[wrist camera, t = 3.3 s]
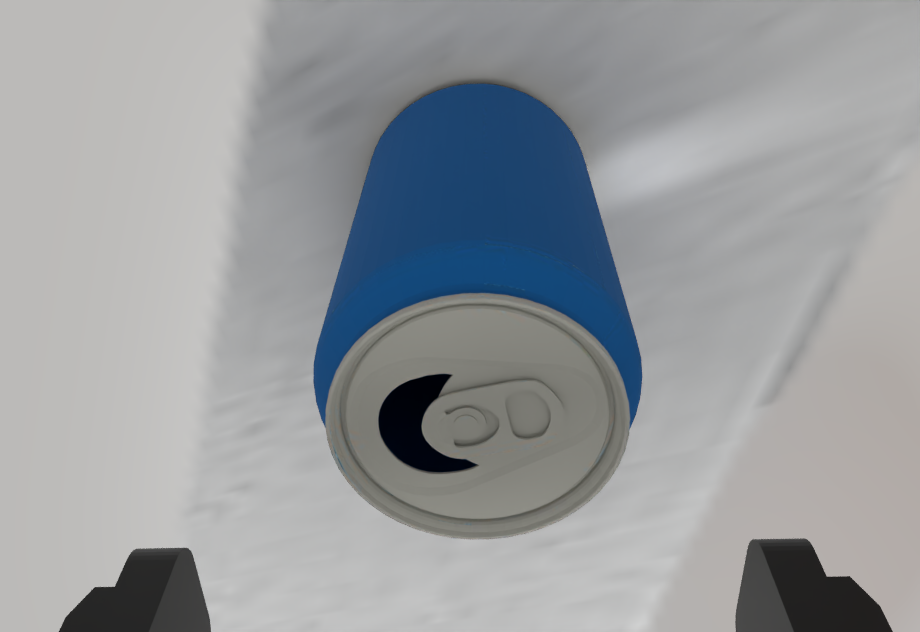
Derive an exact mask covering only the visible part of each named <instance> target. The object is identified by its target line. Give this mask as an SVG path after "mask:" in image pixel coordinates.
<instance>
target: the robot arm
mask: <svg viewBox="0 0 920 632" xmlns="http://www.w3.org/2000/svg"><path fill="white" fill-rule="evenodd" d="M59 632H211V627H210V619H209V614H208V611H207V607H206V603H205V599H204V595H203V592H202V588H201V584H200V580H199V577H198V573H197V569H196V565H195V562H194V558H193V555H192V553H191V551H190V550H189V549H188V548H161V549H160V548H159V549H158V548H157V549H156V548H155V549H135V550H134V551H133V552H131V554H130V555H129V557H128V559H127V561H126V563H125V565H124V568H123V570H122V572H121V574H120V577H119V579H118V581H117V583H116V586H115V587H95V588H94V589H93V590H92V591H91V592H90V593H89V594H88V595H87V596H86V597H85V598H84V599H83V600H82V601H81V602H80V603H79V604H78V605H77V606H76V607H75V608H74V609H73V610H72V611H71V612H70V613H69V615H68V616H67V617H66V618H65V620H64V622H63V624H62V627H61V628H60V631H59ZM736 632H893V631H892V630H891V627H890V625H889V624H888V622H887V619H886V617H885V615H884V613H883V611H882V609H881V607H880V606H879V605H878V604H877V603H876V602H875V601H874V600H873V599H872V598H871V597H870V596H869V595H868V594H867V593H866V592H865V591H864V590H863V589H862V588H861V587H860V586H859V585H858V584H857V583H856V582H855V581H854V580H853V579H852V578H851V577H850V576H847V577H827V576H826V574H825V572H824V570H823V568H822V565H821V563H820V561H819V559H818V557H817V554H816V553H815V550H814V548H813V546H812V545H811V543H810V542H809V541H808V540H807V539H761V540H760V539H759V540H757V539H755V540H752V541H751V542H750V543H749V546H748V550H747V555H746V561H745V566H744V571H743V576H742V582H741V587H740V593H739V599H738V604H737V609H736Z"/></svg>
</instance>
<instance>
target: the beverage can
mask: <svg viewBox="0 0 920 632" xmlns="http://www.w3.org/2000/svg"><path fill="white" fill-rule="evenodd" d="M641 384H642V366H641V357H640V352H639V348H638V344H637V340H636V336H635V333H634V329H633V326H632V323H631V319H630V316H629V312H628V309H627V305H626V302H625V298H624V295H623V292H622V288H621V285H620V281H619V278H618V274H617V271H616V267H615V264H614V261H613V257H612V254H611V250H610V247H609V243H608V240H607V236H606V233H605V230H604V226H603V223H602V219H601V216H600V212H599V209H598V205H597V202H596V199H595V195H594V192H593V188H592V185H591V181H590V178H589V174H588V171H587V168H586V164H585V161H584V157H583V155H582V152H581V150H580V147H579V145H578V143H577V141H576V139H575V137H574V136H573V134H572V132H571V131H570V129H569V128H568V127H567V126H566V124H565V123H564V122H563V120H562V119H561V118H560V117H558V116H557V115H556V114H555V113H554V112H553V111H552V110H551V109H550V108H548V107H547V106H546V105H544V104H543V103H542V102H540V101H538V100H537V99H535V98H533V97H531V96H529V95H527V94H525V93H523V92H520V91H517V90H515V89H512V88H508V87H503V86H499V85H492V84H464V85H457V86H452V87H448V88H445V89H441V90H438V91H436V92H433V93H431V94H429V95H427V96H424V97H423V98H421V99H419V100H418V101H416V102H414V103H413V104H411V105H410V106H409V107H407V108H406V109H405V110H404V111H403V112H401V113H400V114H399V115H398V116H397V117H396V118H395V119H394V120H393V122H392V123H391V124H390V125H389V126H388V128H387V129H386V131H385V132H384V133H383V135H382V136H381V138H380V140H379V142H378V144H377V146H376V148H375V151H374V154H373V156H372V159H371V162H370V166H369V169H368V173H367V176H366V180H365V183H364V186H363V190H362V193H361V197H360V200H359V204H358V207H357V210H356V214H355V217H354V221H353V224H352V228H351V231H350V235H349V238H348V241H347V245H346V248H345V252H344V255H343V259H342V262H341V266H340V269H339V272H338V276H337V279H336V283H335V286H334V290H333V293H332V296H331V300H330V303H329V307H328V310H327V314H326V317H325V321H324V324H323V327H322V331H321V334H320V338H319V341H318V345H317V349H316V355H315V360H314V388H315V395H316V402H317V406H318V409H319V412H320V415H321V419H322V421H323V423H324V426H325V428H326V433H327V440H328V443H329V446H330V449H331V453H332V456H333V458H334V460H335V462H336V464H337V466H338V468H339V470H340V471H341V473H342V474H343V476H344V477H345V479H346V480H347V482H348V483H349V484H350V485H351V486H352V487H353V488H354V490H355V491H356V492H357V493H358V494H359V495H360V496H361V497H362V498H364V499H365V500H366V501H367V502H368V503H369V504H370V505H372V506H373V507H375V508H376V509H378V510H379V511H380V512H382V513H383V514H385V515H387V516H388V517H390V518H392V519H394V520H396V521H398V522H400V523H402V524H405V525H407V526H410V527H412V528H415V529H417V530H420V531H424V532H427V533H431V534H434V535H440V536H445V537H451V538H460V539H495V538H505V537H511V536H516V535H520V534H525V533H528V532H532V531H535V530H538V529H541V528H544V527H546V526H548V525H551V524H553V523H555V522H558V521H560V520H562V519H563V518H565V517H567V516H569V515H570V514H572V513H574V512H575V511H577V510H578V509H579V508H581V507H582V506H584V505H585V504H586V503H588V502H589V501H590V500H591V499H592V498H593V497H594V496H595V495H596V494H597V493H598V492H599V491H600V490H601V489H602V488H603V487H604V486H605V484H606V483H607V482H608V481H609V479H610V478H611V477H612V475H613V473H614V472H615V470H616V468H617V467H618V465H619V463H620V461H621V458H622V456H623V454H624V451H625V448H626V444H627V440H628V436H629V430H630V427H631V425H632V422H633V420H634V418H635V415H636V412H637V408H638V404H639V400H640V395H641Z"/></svg>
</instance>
